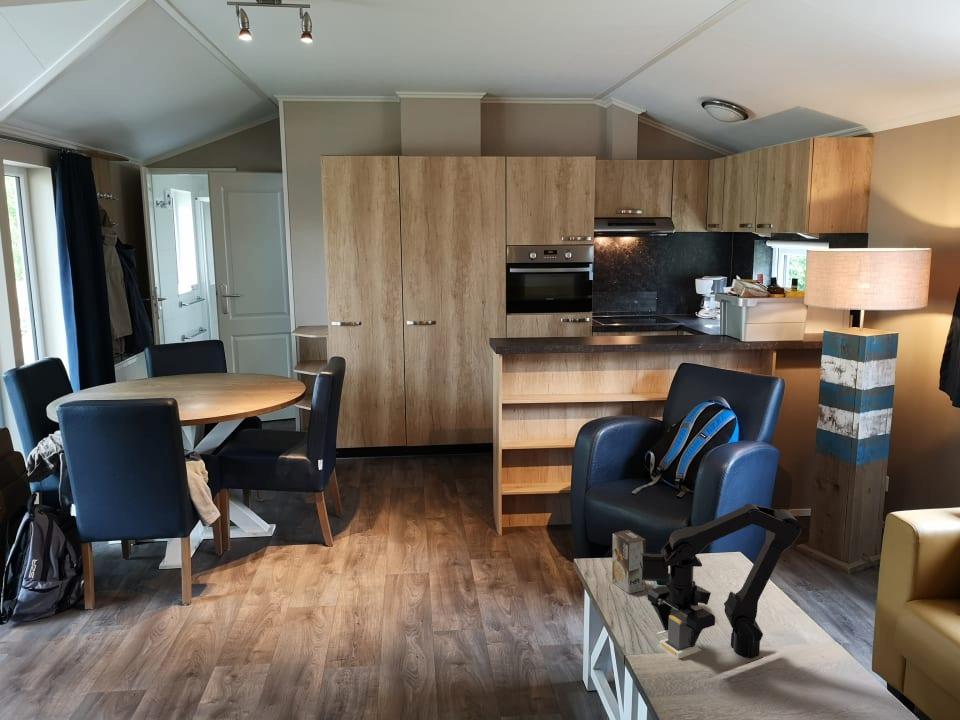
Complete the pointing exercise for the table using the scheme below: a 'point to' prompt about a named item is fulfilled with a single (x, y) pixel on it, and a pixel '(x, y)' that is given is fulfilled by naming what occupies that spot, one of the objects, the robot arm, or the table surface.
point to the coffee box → (627, 561)
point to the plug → (677, 632)
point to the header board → (674, 652)
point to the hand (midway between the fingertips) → (679, 638)
